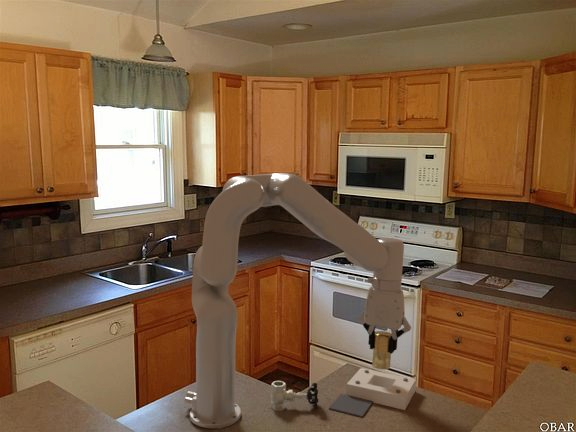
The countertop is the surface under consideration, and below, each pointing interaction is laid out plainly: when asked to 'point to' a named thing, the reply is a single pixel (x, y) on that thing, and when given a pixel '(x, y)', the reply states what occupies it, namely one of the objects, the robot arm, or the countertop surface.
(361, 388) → the plate
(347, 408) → the mat
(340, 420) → the countertop surface
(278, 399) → the valve
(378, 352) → the brass domed cylinder
